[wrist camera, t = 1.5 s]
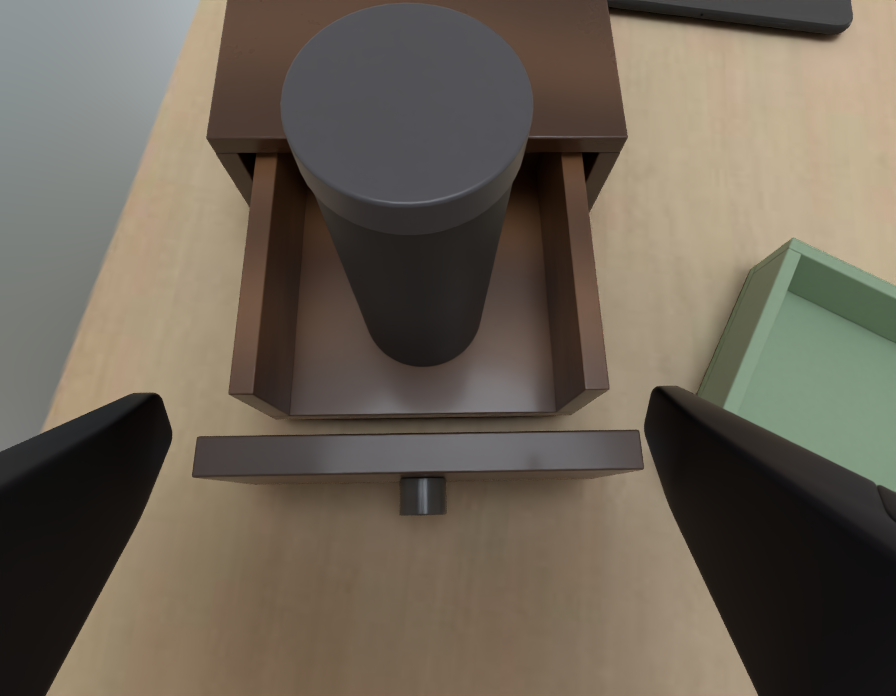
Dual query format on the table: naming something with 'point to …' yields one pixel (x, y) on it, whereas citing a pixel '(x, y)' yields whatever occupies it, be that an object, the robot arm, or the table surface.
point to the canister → (411, 164)
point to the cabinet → (493, 3)
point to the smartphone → (756, 12)
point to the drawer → (411, 387)
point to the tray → (814, 359)
